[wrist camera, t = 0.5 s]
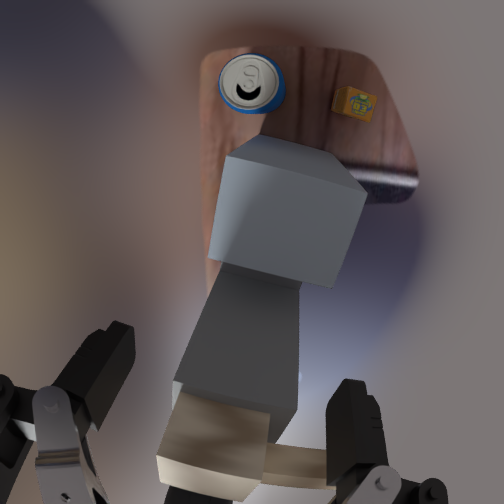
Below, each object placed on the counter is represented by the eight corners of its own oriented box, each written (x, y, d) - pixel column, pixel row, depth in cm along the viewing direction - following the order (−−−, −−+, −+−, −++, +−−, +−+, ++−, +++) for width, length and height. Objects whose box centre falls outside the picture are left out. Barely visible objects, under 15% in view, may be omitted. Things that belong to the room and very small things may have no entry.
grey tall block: (315, 206, 42) (332, 288, 23) (246, 189, 42) (207, 257, 23) (331, 153, 38) (367, 193, 20) (258, 134, 38) (226, 155, 20)
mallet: (394, 427, 17) (403, 484, 13) (358, 460, 20) (360, 509, 16) (179, 391, 18) (156, 454, 13) (177, 430, 20) (160, 482, 16)
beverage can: (234, 111, 37) (211, 111, 27) (239, 66, 34) (218, 49, 24) (282, 116, 37) (279, 117, 26) (288, 70, 34) (287, 54, 23)
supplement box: (328, 112, 36) (340, 112, 27) (335, 89, 34) (348, 82, 25) (352, 120, 36) (371, 123, 27) (358, 97, 34) (379, 93, 25)
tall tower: (280, 285, 48) (260, 464, 22) (231, 273, 48) (171, 442, 22) (301, 216, 43) (307, 392, 16) (247, 203, 43) (173, 360, 16)
